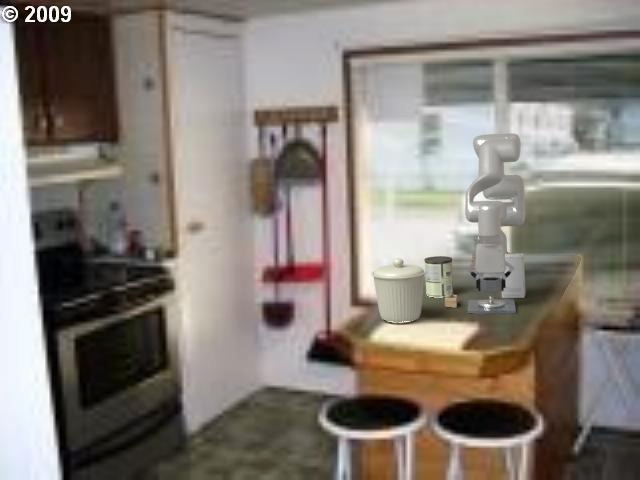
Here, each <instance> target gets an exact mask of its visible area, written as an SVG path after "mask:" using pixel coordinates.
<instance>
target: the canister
mask: <svg viewBox="0 0 640 480" xmlns="http://www.w3.org/2000/svg"><path fill="white" fill-rule="evenodd" d="M425 274H426V271H425V268H422V267H421V266H418V265H414V264H404V259H402V258H398V257H397V258H394V259H393V260H392V264H389V265H383V266H380V267H378V268H376V269H375V270H373V271H372V272H371V276H372V277H373V281H374V289H375V294H376V295H375V296H376V301H377V307H378V311H379V315H380V318H381V319H382V320H383V319H384V320H386V321H393V322H402V321H403V322H404V321H412V320H416V319H417V320H418V319H419V318H420V316H421V314H422V306H423V295H424V294H423V293H424V283H425V282H424V281H425V279H424V278H425ZM384 320H383V321H384ZM417 320H416V321H417ZM386 321H385V322H386Z"/></svg>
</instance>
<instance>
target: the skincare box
mask: <svg viewBox="0 0 640 480" xmlns="http://www.w3.org/2000/svg"><path fill="white" fill-rule="evenodd" d="M505 260H506V261H507V262H508V263H510V264H511V265H512V266H514V267H515V269H514V270H513V272H512V273H511V274H510V275H509V276H508V277H507V278H506V279H505V281H506V288H504V291H502V290H501V299H524V298H525V296H526V275H525V274H526V273H525V272H526V271H525V253H516V254H505ZM508 270H509V267H507V266H506V269H505V272H504V273H506V272H507V271H508ZM501 279H502V276H501Z"/></svg>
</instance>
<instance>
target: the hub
mask: <svg viewBox="0 0 640 480" xmlns="http://www.w3.org/2000/svg"><path fill="white" fill-rule="evenodd" d="M468 313H475V314H474V315H476V314H477V313H478V314H479V315H480V314H485V315H487V314H488V315H489V314H491V315H492V314H495V315H496V314H505V315H506V314H509V315H510V314H511V315H512V314H517V309H516V303H515V298H510V299H496V298H495V299H494V294H488V299H468V300H467V314H468ZM478 314H477V315H478Z"/></svg>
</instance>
